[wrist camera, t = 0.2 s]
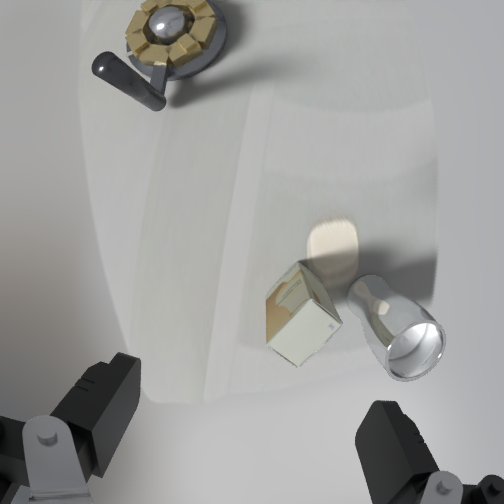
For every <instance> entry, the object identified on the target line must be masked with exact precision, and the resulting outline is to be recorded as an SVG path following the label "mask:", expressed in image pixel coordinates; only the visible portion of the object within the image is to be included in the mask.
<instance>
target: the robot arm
mask: <svg viewBox="0 0 504 504" xmlns="http://www.w3.org/2000/svg"><path fill="white" fill-rule="evenodd" d="M140 381H141V360H140V358H136V357H133V356H130V355H127V354H124V353H120V352H118V353H117V354H116V355H115V356H114V358H113V359H112V360H111V362H110V363H109V364H107V363H104V362H99V363H97V364H95V365H93V366H91V367H89V368H88V369H87V370H86V372H85V373H84V374H83V375H82V376H81V379H79V380H78V381H77V382H76V383H75V386H74V387H72V388H71V390H70V391H69V392H68V393H67V394H66V396H65V397H64V398H63V400H62V401H61V402H60V403H59V405H58V406H57V407H56V408H55V410H54V411H53V412H52V413H51V414H50V415H49V416H47V415H42V416H37V417H34V418H32V419H30V420H29V421H28V422H21V421H17V420H13V419H10V418H6V417H3V416H0V504H10V503H11V501H12V500H13V498H14V496H15V494H16V492H17V490H18V489H19V487H20V485H24V486H28V487H30V488H31V493H32V498H29V504H94V503H93V500H92V497H91V495H90V492H89V490H88V486H87V482H88V480H89V478H90V476H91V474H93V475H95V476H98V477H100V478H102V477H103V475H104V473H105V471H106V469H107V467H108V465H109V463H110V461H111V459H112V457H113V455H114V453H115V451H116V448H117V447H118V445H119V443H120V441H121V438H122V437H123V434H124V433H125V431H126V429H127V427H128V425H129V423H130V421H131V419H132V417H133V415H134V413H135V411H136V409H137V406H138V403H139V398H140ZM355 446H356V449H357V452H358V456H359V459H360V462H361V465H362V469H363V472H364V476H365V479H366V482H367V486H368V489H369V493H370V496H371V500H372V503H373V504H504V480H503V479H502V478H501V477H499V476H496V475H487V476H486V477H484V478H483V479H482V480H481V481H480V482H479V484H478V485H465V484H462V483H461V481H460V480H459V478H458V477H457V476H455V475H454V474H452V473H450V472H447V471H440V470H439V468H438V466H437V464H436V462H435V460H434V458H433V457H432V454H431V453H430V451H429V449H428V447H427V445H426V443H424V439H423V437H422V436H421V435H420V432H419V430H418V428H417V427H416V425H415V423H414V422H413V421H412V420H411V419H410V418H409V417H408V416H407V415H406V414H403V412H402V411H401V409H400V407H399V405H398V403H397V402H396V401H380V400H377V401H375V402H373V404H372V405H371V407H370V409H369V411H368V413H367V414H366V416H365V418H364V420H363V421H362V423H361V425H360V427H359V428H358V430H357V433H356V437H355Z"/></svg>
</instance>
